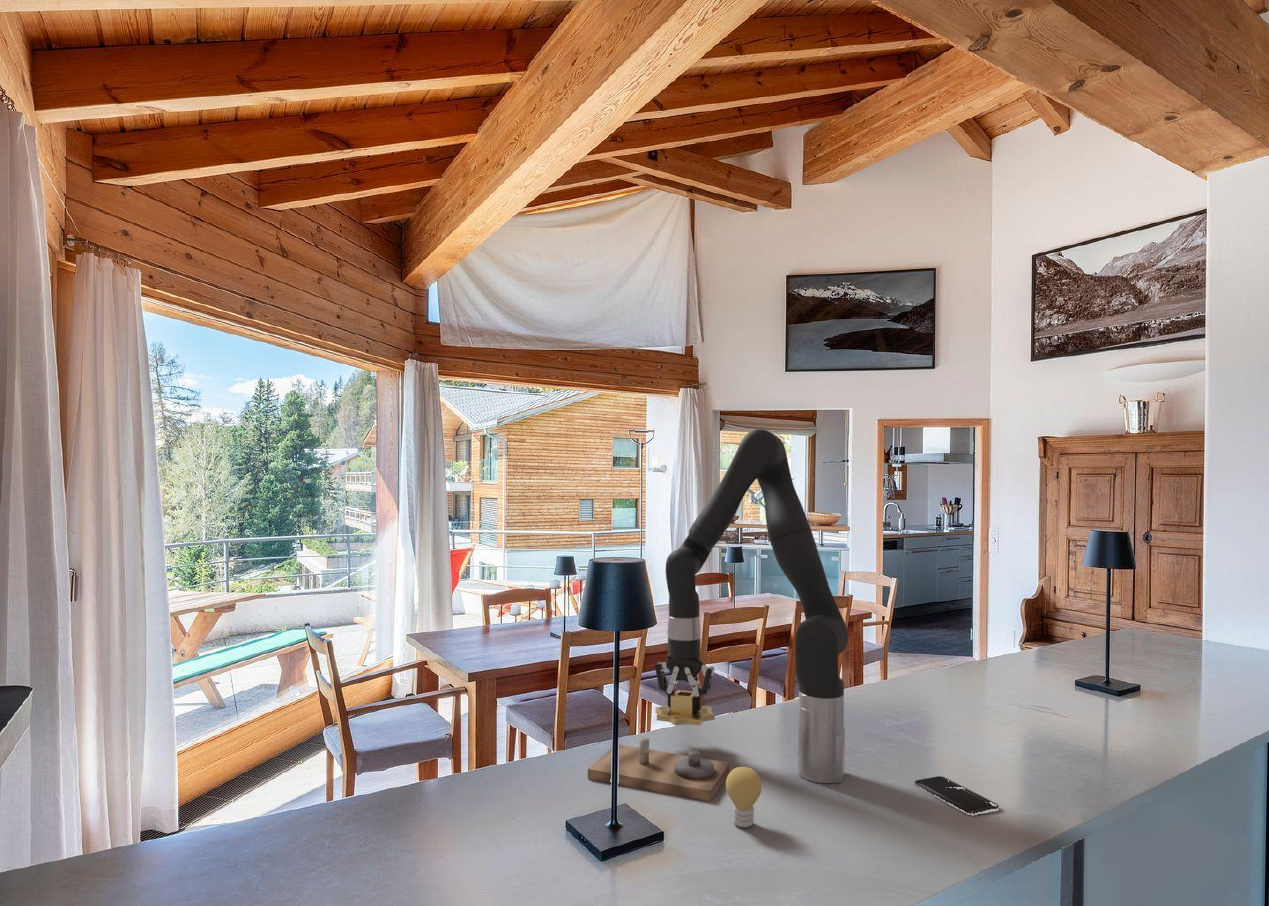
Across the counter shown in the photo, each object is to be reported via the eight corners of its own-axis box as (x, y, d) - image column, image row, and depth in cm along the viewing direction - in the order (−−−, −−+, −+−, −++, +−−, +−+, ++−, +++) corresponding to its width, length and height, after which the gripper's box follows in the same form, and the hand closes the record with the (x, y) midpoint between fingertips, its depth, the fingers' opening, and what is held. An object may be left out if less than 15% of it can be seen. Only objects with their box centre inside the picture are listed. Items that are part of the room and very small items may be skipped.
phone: (970, 812, 135) (912, 780, 149) (970, 819, 135) (912, 786, 149) (1002, 806, 138) (942, 775, 152) (1002, 812, 138) (942, 780, 152)
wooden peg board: (729, 772, 154) (729, 738, 154) (710, 801, 140) (710, 764, 140) (616, 753, 164) (616, 721, 164) (587, 778, 150) (588, 744, 150)
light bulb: (760, 835, 127) (761, 777, 127) (724, 831, 128) (724, 773, 129) (761, 818, 133) (762, 763, 134) (726, 814, 135) (727, 759, 135)
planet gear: (722, 710, 170) (722, 688, 171) (706, 729, 157) (706, 706, 157) (665, 704, 176) (665, 683, 176) (644, 722, 162) (644, 699, 163)
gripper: (718, 634, 168) (719, 709, 167) (660, 630, 173) (660, 702, 173) (710, 641, 161) (710, 719, 160) (649, 636, 166) (649, 711, 166)
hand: (684, 710), depth 166 cm, fingers closed on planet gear, 5 cm apart
